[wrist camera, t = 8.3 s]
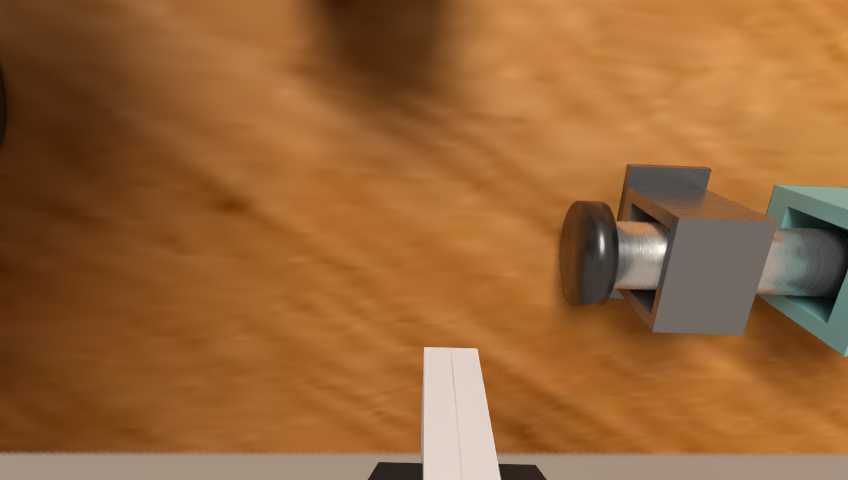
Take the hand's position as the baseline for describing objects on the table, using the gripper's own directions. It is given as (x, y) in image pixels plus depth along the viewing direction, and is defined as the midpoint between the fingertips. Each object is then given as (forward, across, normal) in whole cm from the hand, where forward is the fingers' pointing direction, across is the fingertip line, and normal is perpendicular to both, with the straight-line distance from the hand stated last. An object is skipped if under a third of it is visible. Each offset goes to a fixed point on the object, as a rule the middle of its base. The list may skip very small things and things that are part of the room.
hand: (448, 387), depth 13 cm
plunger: (+15, +16, -1) cm, 21 cm away
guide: (+16, +13, -1) cm, 20 cm away
